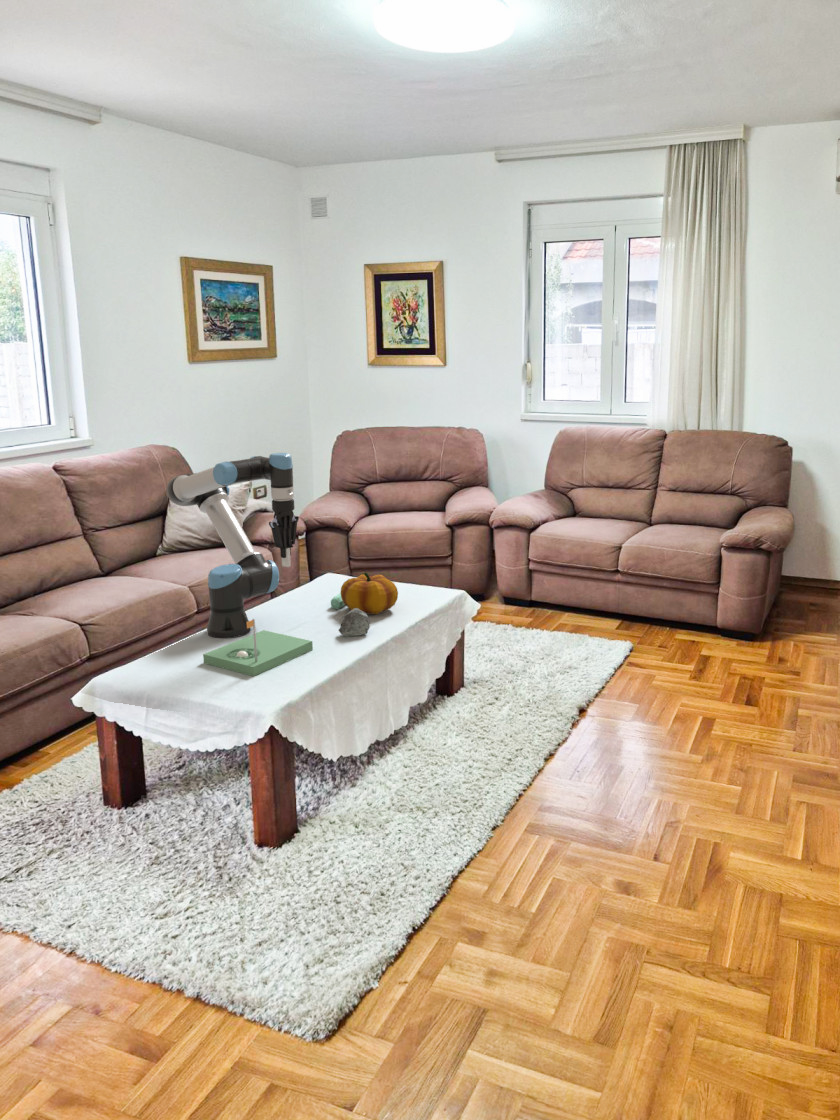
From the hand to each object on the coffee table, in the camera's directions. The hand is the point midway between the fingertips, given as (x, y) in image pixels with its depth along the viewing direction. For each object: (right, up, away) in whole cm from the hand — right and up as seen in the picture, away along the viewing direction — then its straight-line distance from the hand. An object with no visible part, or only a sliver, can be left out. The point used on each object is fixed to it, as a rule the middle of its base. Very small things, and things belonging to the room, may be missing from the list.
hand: (286, 566), depth 316 cm
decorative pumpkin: (+27, -17, +31) cm, 44 cm away
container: (+18, -14, +44) cm, 49 cm away
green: (-7, -30, -17) cm, 35 cm away
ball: (-11, -29, -22) cm, 38 cm away
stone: (+24, -24, +5) cm, 34 cm away
